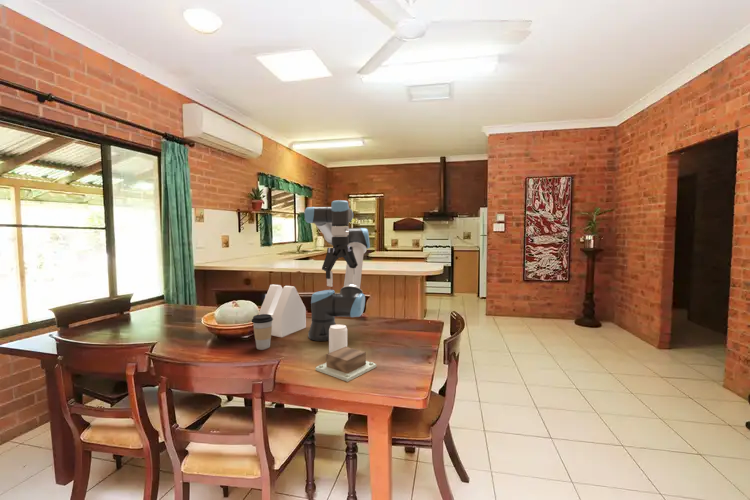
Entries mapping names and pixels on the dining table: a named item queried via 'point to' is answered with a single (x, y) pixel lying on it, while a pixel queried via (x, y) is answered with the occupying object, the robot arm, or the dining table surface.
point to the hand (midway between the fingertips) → (340, 284)
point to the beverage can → (337, 337)
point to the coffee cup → (262, 330)
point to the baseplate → (345, 376)
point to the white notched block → (284, 310)
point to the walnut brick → (346, 359)
